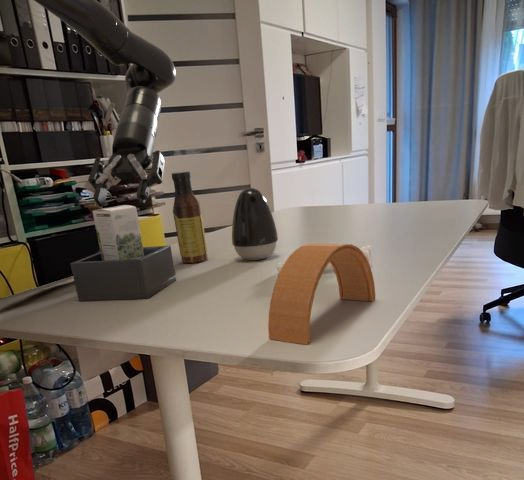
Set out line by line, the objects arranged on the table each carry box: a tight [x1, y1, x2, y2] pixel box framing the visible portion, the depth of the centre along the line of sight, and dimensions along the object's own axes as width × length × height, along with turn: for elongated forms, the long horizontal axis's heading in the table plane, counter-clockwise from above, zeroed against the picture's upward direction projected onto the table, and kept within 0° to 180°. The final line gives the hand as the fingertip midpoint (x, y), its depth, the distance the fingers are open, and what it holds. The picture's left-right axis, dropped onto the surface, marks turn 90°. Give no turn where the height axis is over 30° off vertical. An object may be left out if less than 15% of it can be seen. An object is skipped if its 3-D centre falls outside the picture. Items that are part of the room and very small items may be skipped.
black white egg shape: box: [231, 187, 279, 261], centre depth 115 cm, size 10×10×15 cm
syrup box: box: [93, 204, 144, 261], centre depth 97 cm, size 6×6×14 cm
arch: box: [267, 243, 376, 345], centre depth 70 cm, size 6×20×10 cm, turn 144°
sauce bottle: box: [171, 170, 208, 264], centre depth 118 cm, size 7×6×20 cm
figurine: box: [275, 243, 373, 273], centre depth 98 cm, size 17×5×18 cm
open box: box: [69, 245, 177, 302], centre depth 98 cm, size 14×13×7 cm
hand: (119, 202), depth 96 cm, fingers open, 8 cm apart
